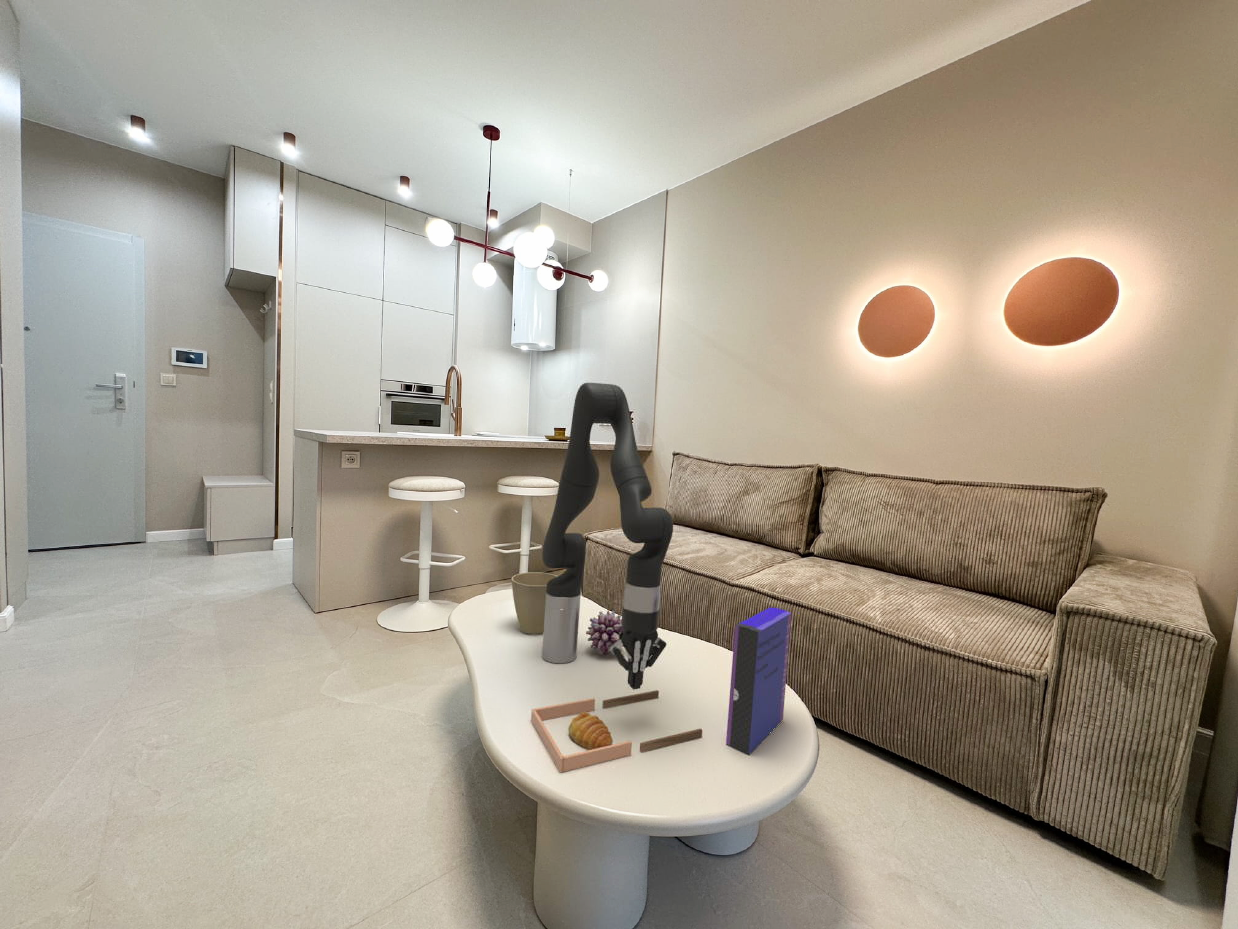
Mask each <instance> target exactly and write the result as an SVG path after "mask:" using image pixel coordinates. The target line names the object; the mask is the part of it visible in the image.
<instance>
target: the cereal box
mask: <svg viewBox="0 0 1238 929" xmlns="http://www.w3.org/2000/svg"><path fill="white" fill-rule="evenodd" d="M791 622H792V612H790V611H787V610H785V609H781V608H777V607H776V608H775V607H772V606H771V607H768V608H766V609H764V610H762V611H760V612H758V613H756V614H753V615H752V616H750V617H748V618H747V619H745V620H743V621H740V622H739V623H737V624H735V625H734V635H733V647H732V648H733V649H732V661H731V673H730V674H731V675H730V688H729V700H728V715H727V726H726V727H727V728H726V739H725V746H728V747H730V748H732V749H734V750H736V751H739V752H740V753H742V754H744V755H747V756H750V755H751V754H752V753H753V752H754V751H755V750H756V749H757V748H758V747H759V746H760V745H761V744H762V743H763V742H764V741H765V740H766V738H768V737H769V736H770V735H771V733H773V732H774V730H775V729H777V727H778V726H779V725H780V724H781V723H782V722H783V721H784V711H785V698H786V697H785V696H786V685H787V672H788V662H789V661H788V659H789V650H790V649H789V648H790V634H791V625H792V624H791ZM782 720H783V721H782ZM781 721H782V722H781ZM780 722H781V723H780ZM779 723H780V724H779ZM778 724H779V725H778ZM777 725H778V726H777ZM776 726H777V727H776ZM774 728H775V729H774ZM773 729H774V730H773ZM770 732H771V733H770ZM764 739H765V740H764ZM763 740H764V741H763ZM762 741H763V742H762ZM761 742H762V743H761Z"/></svg>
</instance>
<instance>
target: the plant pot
mask: <svg viewBox="0 0 1238 929" xmlns="http://www.w3.org/2000/svg"><path fill="white" fill-rule="evenodd" d="M558 576H559V575H556V574H553V573H548V572H540V571H539V572H537V571H536V572H535V571H532V572H529V571H528V572H522V573H518V574H515V575H513V576H511V588H512V589H511V590H512V597H513V602H514V603H513V604H514V608H515V613H516V617H517V621H518V624H519V627H520V630H521V632H522V633H523V632H524V634H527V635H531V634H536V635H541V634H543V633H544V618H545V602H546V587H547V583H548V581H549V580H551V579H553V578H555V577H558Z"/></svg>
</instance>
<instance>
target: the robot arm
mask: <svg viewBox="0 0 1238 929" xmlns="http://www.w3.org/2000/svg"><path fill="white" fill-rule="evenodd" d="M594 424H602V425H607V424H608V425H610V426H611V428H612V430H613V432H614V435H615V443H614V446H613V450H612V453H611V457H610V458H611V459H610V463H609V464H610V473H611V477H612V479H613V483H614V485H615V488H616V491H617V494H618V496H619V509H620V524H621V529H622V532H623V535H624V536H625V537H626V539H627V540H628V541H629V542H631V543H632V544H633V543H634V544H643V545H642V547H641V549H639V550H638V551H636V552H634V553H632V554H630V556H629V557H628V559H627V566H626V577H625V586H624V591H623V598H622V599H623V601H622V611H621V612H622V613H621V619H622V622H621V625H622V631H621V633H620V635H619V640H618V641H617V642H616V643H615V644H614V645H613V644H610V645H609V649H610V651H611V652H610V653H611V654H612V656H613V657H614V658H615V660H616V661H617V662H618V664H619V666H621V667H622V668H623V669H624V670H625V671H626V672H627V680H626V681H627V685H628V686H629V687H630V688H631V689H632V690H633V691H634V690H638V689H641V687H642V685H643V683H644V671H645V670H646V669H647V668H648V667H649V668H651V667H653V666H654V664H655V663H656V662H657V660H658V658H659V656H660V655H661V654H662V652H663V651H664V650H665V648H666V647H667V642H666V641H664V640H663V639H662V638H660V637H659V634H658V633H659V632H658V629H659V628H658V627H659V620H660V608H661V606H660V605H661V597H662V595H661V579H662V578H661V577H662V568H663V563H664V561H665V559H666V555H667V552H668V549H669V546H670V544H671V540H672V537H673V532H674V523H673V522H674V521H673V518H672V515H671V513H670V512H669V511H668V510H667V509H666V508H664V507H643V504H642V502H644V501H646V500H647V499H649V497H651V495H652V492H653V490H652V486H651V483H650V480H649V477H648V474H647V472H646V469H645V467H644V465H643V462H642V459H641V457H640V454H639V451H638V445H637V441H636V436H635V431H634V425H633V421H632V417H631V412H630V407H629V403H628V400H627V397H626V394H625V391H624V390H623V389H622V388H621V387H620V386H619V385H616V384H613V383H601V382H600V383H598V382H584V383H583V384H581V385H580V386H579V388H578V390H577V392H576V395H575V399H574V404H573V410H572V418H571V425H570V426H571V427H570V432H569V433H570V434H569V440H568V446H567V449H566V454H565V458H564V463H563V467H562V471H561V475H560V479H559V483H558V488H557V494H556V500H555V504H554V509H553V512H552V516H551V518H550V523H549V525H548V528H547V531H546V533H545V538H544V541H543V546H542V553H541V554H542V555H541V556H542V562H543V564H544V565H545V567H547V568H549V569H565V571H564V572H563V573H562V572H561V574H560V575H557V576H558V577H555V578H553V579H551V580H549V581H548V583H547V587H546V602H545V618H544V633H542V634H543V635H542V648H541V650H542V651H541V657H542V660H544V661H547V662H549V663H553V664H568V663H571V662H573V661H575V660H576V659H577V651H578V639H579V638H578V637H579V624H580V623H579V622H580V612H581V609H580V608H581V596H582V592H581V591H582V586H583V583H584V582H583V581H584V573H585V572H584V570H585V564H586V563H585V562H586V554H587V542H586V539H585V537H584V535H583V534H582V533H580V532H579V533H578V532H567V529H568V528H569V526H570V525H571V524H572V522H573V521H574V520H576V518H577V517H579V516H580V515H581V513H583V512H584V511H585V510H586V509H587V508H588V506H590V504H591V503H592V502H593V500H594V498H595V494H596V491H597V489H598V488H597V487H598V483H599V480H600V469H599V466H598V463H597V460H596V457H595V456H594V452H593V449H592V447H591V442H590V441H591V434H592V433H591V432H592V428H593V425H594ZM622 646H623V647H622ZM623 648H624V649H623ZM624 650H625V652H626V654H625V655H626V658H627V659H626V658H625V656H624V654H623V653H624Z"/></svg>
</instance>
